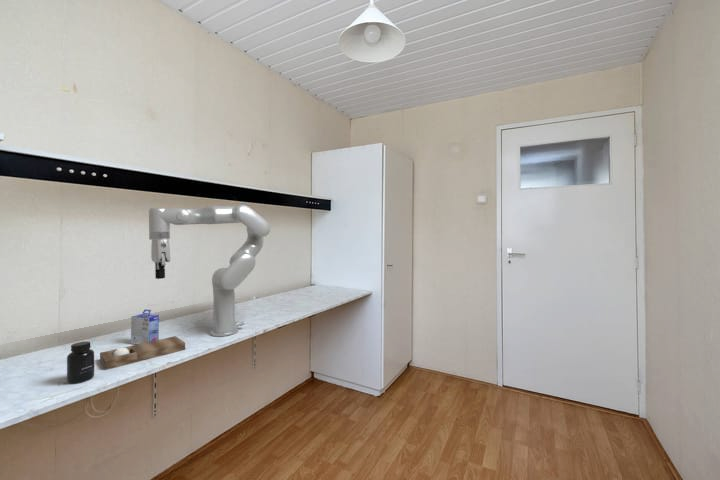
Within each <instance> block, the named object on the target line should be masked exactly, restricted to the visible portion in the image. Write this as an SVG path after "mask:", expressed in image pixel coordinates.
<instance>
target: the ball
mask: <svg viewBox="0 0 720 480" xmlns="http://www.w3.org/2000/svg"><path fill="white" fill-rule="evenodd" d="M116 349H117V350H116V351H115V352H114V353H113V356H114V357H117V356H121V355H125V354H129V350H128V349H127V348H124V347H119V348H116Z"/></svg>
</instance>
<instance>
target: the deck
mask: <svg viewBox="0 0 720 480" xmlns="http://www.w3.org/2000/svg"><path fill="white" fill-rule="evenodd" d="M123 348H127V349H128V350H129V354H125V355H121V356H117V357H114V356H113V353H114V352H115V351H116V350H117V349H118V348H115V349H112V350H107V351H103V352H102V351H101V352H100V353H99V361H100V362H101V364H102V365H103V367H104V369H105V370H106V371H107V370H110V369H114V368H118V367H122V366H126V365H130V364H134V363H139V362H143V361H146V360H150V359H155V358H158V357H162V356H166V355H169V354H172V353H173V354H174V353H177V352H180V351H181V352H182V351H186V342H185V341H184V340H182V339H181V338H179V337H177V335H176V336H170V337H166V338H165V337H164V338H162V339H159V340H156V341H151V342H146V343H142V344H132V345H130V346H124V347H123Z"/></svg>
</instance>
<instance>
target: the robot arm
mask: <svg viewBox="0 0 720 480" xmlns="http://www.w3.org/2000/svg"><path fill="white" fill-rule="evenodd" d="M238 223H239V224H241V223H242V224H243V225H244V226H246V233H247V237H246V238H247V239H246V241H244V243H243V244H242V245H241V247H240V248H239V249H237V250H236V252H234V253H233V254H232V255H231V257H230V258H229V266H227V267H220V268H217V270H215V271H214V273H213V274H212V277H211V284H212V294H213V329H211V330H210V331H209V334H210V336H213V337H227V336H232V335H234V334H236V333H238V332H239V327H241V326H245V321H244V320H243V321H236V319H235V318H236V316H235V315H236V313H235V311H236V305H235V304H236V301H235V300H236V297H235V296H236V295H235V289H236V288H237V287H239V286H240V284H242V282H244V281H245V279H246V278H248V276H249V275H250V274H251V273H252V271H253V269H255V266H256V256H257V255H258V254H259V253H260V252H261V250H262V249H263V246H264V237H266V236H268V235H269V234H270V231H271V225H270V223H268V221H267V220H266V219H265V218H263V216H261V215H260V214H259V213H258V212H256V211H255V210H254V209H253V208H251V207H250V206H249V205H245V204H240V205H215V206H214V205H212V206H205V207H199V208H198V207H197V208H184V207H174V208H173V207H172V208H169V207H155V206H154V207H150V208H149V210H148V235H149V236H148V239H149V240H151V245H150V246H151V249H150V255H151V257H150V258H151V261H152V262H153V263H154V270H155V271H154V272H155V273H154V275H155V277H154V278H155V279H156V280H161V279H165V278H166V266H167V265H166V263H170V262H171V249H170V240H171V233H170V231H171V230H170V229H171V228H170V225H171V224H172V225H174V226H183V225H184V226H186V225H219V224H220V225H221V224H238Z"/></svg>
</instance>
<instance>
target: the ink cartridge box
mask: <svg viewBox="0 0 720 480" xmlns="http://www.w3.org/2000/svg"><path fill="white" fill-rule="evenodd" d="M151 311H152V309H144V310H143V311H142V313H141V314H136V315H133V316H130V344H131V345H137V344H142V343H146V342H151V341H156V340H160V339H159V338H160V334H159V333H160V331H159V328H160V327H159V326H160V325H159V323H160V322H159V320H160V317H159V314H151Z"/></svg>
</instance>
